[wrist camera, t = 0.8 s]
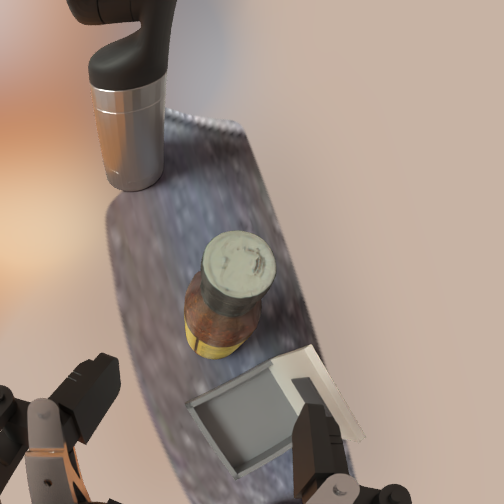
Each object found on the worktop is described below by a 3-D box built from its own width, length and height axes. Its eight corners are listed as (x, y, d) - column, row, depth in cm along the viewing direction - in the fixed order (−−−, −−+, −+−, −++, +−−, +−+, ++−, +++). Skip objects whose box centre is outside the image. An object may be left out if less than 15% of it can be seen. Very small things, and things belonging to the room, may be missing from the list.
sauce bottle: (248, 333, 33) (327, 269, 16) (213, 371, 30) (258, 354, 13) (208, 296, 34) (241, 196, 17) (172, 332, 31) (160, 262, 14)
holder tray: (184, 402, 28) (186, 414, 17) (268, 358, 32) (311, 344, 22) (230, 472, 25) (257, 512, 14) (309, 425, 29) (366, 436, 19)
